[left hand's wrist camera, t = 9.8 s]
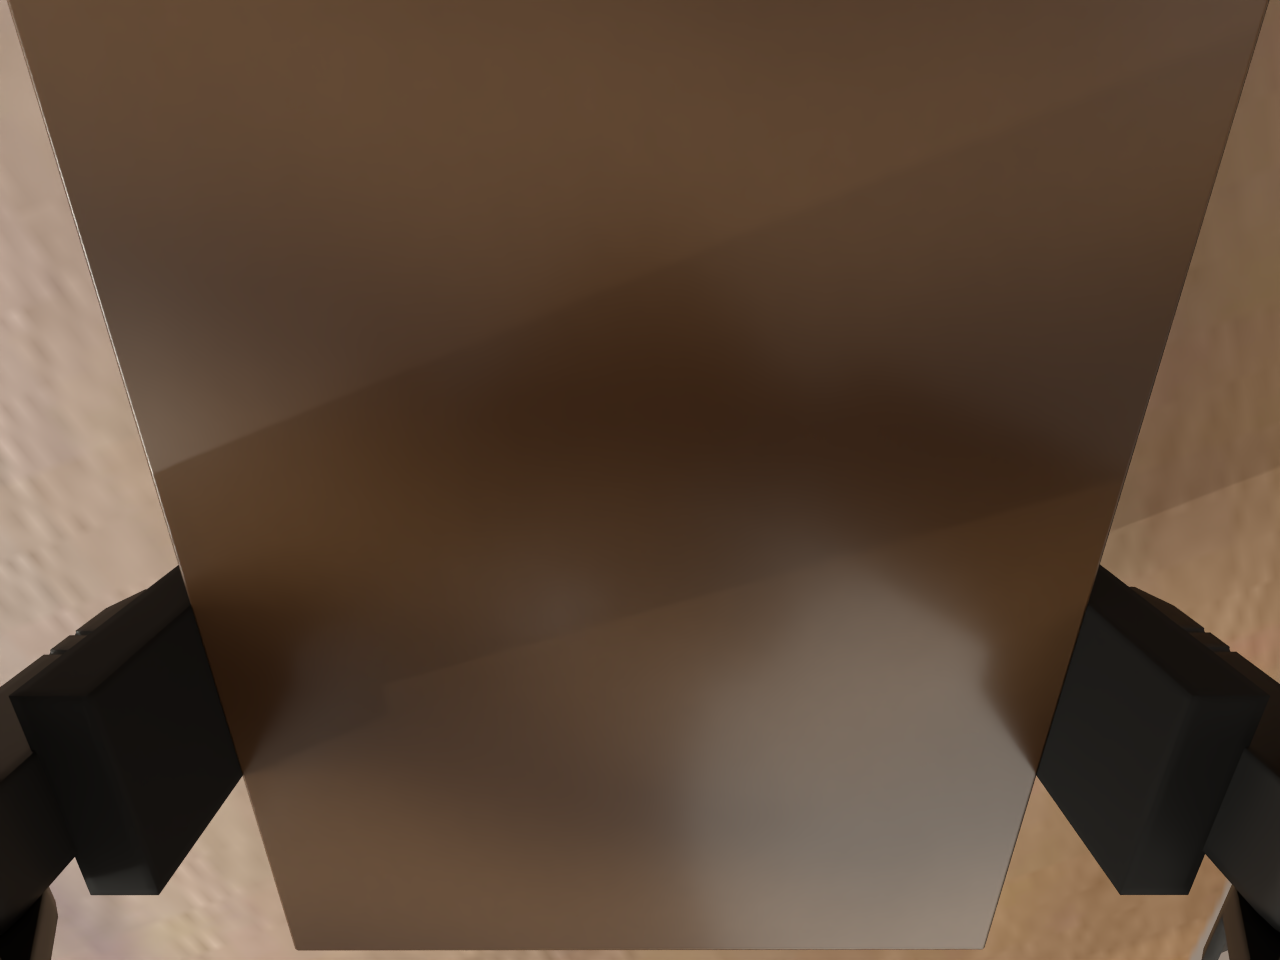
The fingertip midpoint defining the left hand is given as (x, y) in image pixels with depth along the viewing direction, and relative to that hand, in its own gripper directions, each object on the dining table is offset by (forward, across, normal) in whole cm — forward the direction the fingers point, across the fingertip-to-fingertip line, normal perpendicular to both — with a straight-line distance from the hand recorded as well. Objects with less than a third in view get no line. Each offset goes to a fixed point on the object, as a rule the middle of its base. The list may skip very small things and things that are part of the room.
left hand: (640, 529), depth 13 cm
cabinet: (+3, 0, -5) cm, 6 cm away
